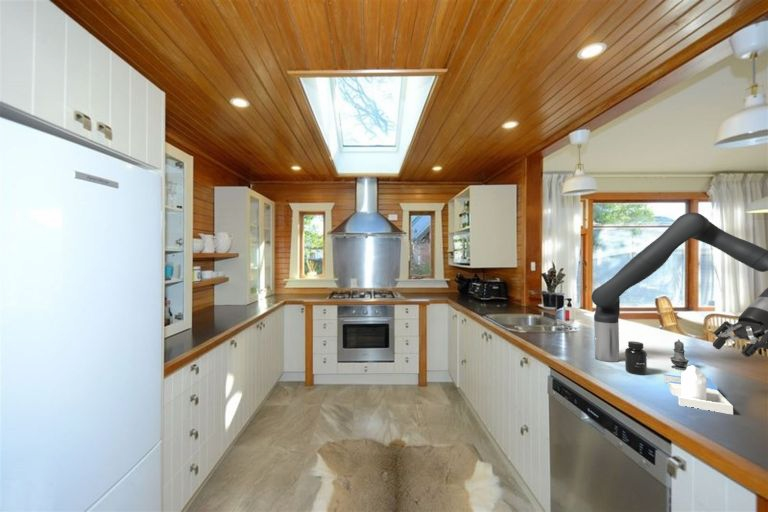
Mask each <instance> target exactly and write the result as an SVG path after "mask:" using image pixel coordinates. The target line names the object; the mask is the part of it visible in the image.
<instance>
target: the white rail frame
mask: <svg viewBox="0 0 768 512" xmlns="http://www.w3.org/2000/svg"><path fill="white" fill-rule="evenodd" d="M663 377H664V378H663V379H664V380H663V382H664V383H665V384H669V387H668V388H669V391H670V393H671V394H672V396H675V397H677V398H678V405H679V406H680V407H685V406H687V408H691V407H694V408H693V409H697V408H699V409H698V410H703V411H708V410H710V411H709V412H714V411H715V413H716V412H717V413H722V414H726V415H734V406H733V404H731V403H730V402H729V401H728V399H726V397H724V395H722V394H721V392H720V391H719V390H718V386H717V384H715V383H714V381H712V380H711V379H710V378H709V377H708V378H707V377H706V382H707V385H706V400H707V401H706V400H699V399H693V398H687V397H682V396H681V375H680V376H679V375H671V374H663ZM712 401H714V402H712Z"/></svg>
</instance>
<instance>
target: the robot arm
mask: <svg viewBox="0 0 768 512" xmlns="http://www.w3.org/2000/svg"><path fill="white" fill-rule="evenodd" d="M690 239H693V240H696V241H699V242H702V243H705V244H707V245H709V246H711V247H714V248H715V249H717V250H719V251H721V252H723V253H724V254H726V255H727V256H729V257H731V258H733V259H734V260H736V261H737V262H740V263H742V265H743V264H744V265H745V266H748V267H749V268H752V269H753V270H755V271H757V272H761V273H764V272H768V249H765V248H764V247H762V246H759V245H758V244H755V243H753V242H750V241H748V240H745V239H743V238H739V237H737V236H735V235H732V234H731V233H728V232H727V231H724V230H722V229H721V228H720V227H718V226H717V225H715V224H714V223H712V222H711V221H709V219H708V218H707V217H705V216H704V215H702V214H701V213H698V212H687V213H683V214H682V215H680V216H679V217H678V218H676V219H675V220H674V222H672V224H671V225H670V226H669V227H668V228H667V229H665V231H664V232H662V234H661V235H659V236H658V237H657V238H655V240H653V241H652V242H650V243H649V244H648V245H647V246H646V247H644V249H642V250H641V251H640V252H638V253H637V254H636V255H635V256H633V258H631V259H630V260H629V261H627V263H626V264H624V266H623V267H621V269H620V270H619V271H618V272H616V274H614V275H613V276H612V277H611V278H610V279H608V280H607V281H606V282H604V283H603V284H601V285H600V286H598V287H597V288H595V289H594V290H593V291H592V293H591V301H592V303H593V304H594V305H595V308H596V309H595V312H594V315H593V320H594V321H593V322H594V323H593V324H594V325H593V328H594V339H593V340H594V359H595V360H599V361H602V362H612V363H615V362H616V363H617V362H619V361H620V331H619V329H620V328H619V324H620V323H619V318H620V315H621V314H620V310H621V309H620V308H621V307H620V306H621V305H620V304H621V303H620V301H621V300H620V299H621V298H620V297H621V296H622V295H623V294H624V293H626V291H627V290H629V289H630V288H632V287H634V286H635V285H637V284H640V282H643V281H644V280H646V279H648V277H650V276H652V275H653V274H654V273H655V272H656V271H658V270H660V268H661V267H663V265H665V264H666V263H667V261H668V259H669V258H670V257H671V256H672V255H673V253H674V252H675V250H677V248H679V247H680V246H681V245H683V244H684V243H686V242H687V241H688V240H690ZM737 320H738V321H736V323H734V324H733V323H730V322H729V321H726V320H725V321H724V322H723V323H722V324H721V325H720V326H718V328H716V329H715V331H714V332H713V334H714V335H715V336H716V337H717V338H716V339H715V340H714V341H713V342H712V347H714V349H716V350H721V348H722V347H724V346H725V344H726V343H727V342H728V341H730V340H738V339H741V340H746V341H750V343H748V344H747V345H746V346H745V347H743V349H742V350H741V354H742V355H743V356H745V357H747V358H750V357H752V356H753V355H754V354H755V353H756V352H757V351H758V350H760V349H764V350H768V287H767V288H765V289H763V291H762V292H761V293H760V295H759V296H757V298H756V299H755V300H752V302H751V303H750V304H749V305H748V306H747V308H746V309H744V311H743V312H742V313H741V314H740V315H739V316H738V319H737ZM732 333H733V334H732ZM761 337H762V338H761Z"/></svg>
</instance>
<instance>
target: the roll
mask: <svg viewBox="0 0 768 512" xmlns="http://www.w3.org/2000/svg"><path fill="white" fill-rule="evenodd" d="M686 368H687V369H686V370H683V371H682V372H681V373H680V376H681V396H682V397H687V398H693V399H699V400H706V385H707V382H706V378H707V377H706V376H705V374H704V373H703V372H702V371H701V369H700V368H699V367H698V366H696V365H689V366H688V365H687V366H686Z"/></svg>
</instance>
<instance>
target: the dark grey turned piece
mask: <svg viewBox="0 0 768 512" xmlns="http://www.w3.org/2000/svg"><path fill="white" fill-rule="evenodd" d="M673 345H674V349H672V350H673V351H674V352H673V353H674V354H673V357H670V358H669V359H670V361H671V363H672V364H673V365H672V366H671V368H672V369H674V368H675V370H680V371H685V370H686V369H687V366H688V364H689V363H690V360H689V359H687V358H686V357H685V352H686V350H685V348H684V347H685V346H684V342H682V341H680V339H677V341H674V344H673Z"/></svg>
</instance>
